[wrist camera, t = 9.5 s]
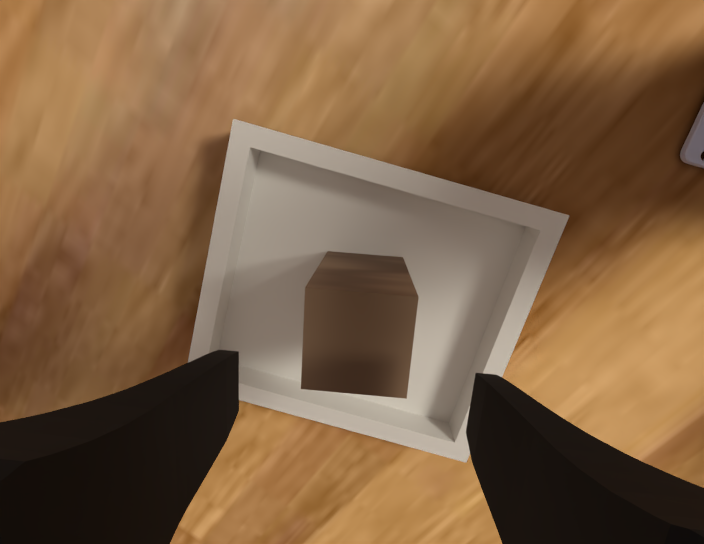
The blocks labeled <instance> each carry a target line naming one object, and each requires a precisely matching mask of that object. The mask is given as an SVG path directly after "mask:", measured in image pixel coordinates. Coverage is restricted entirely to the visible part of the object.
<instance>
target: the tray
mask: <svg viewBox="0 0 704 544" xmlns="http://www.w3.org/2000/svg"><path fill="white" fill-rule="evenodd" d="M569 216H570V215H566V214H563V213H559V212H556V211H553V210H549V209H546V208H542V207H539V206H535V205H532V204H528V203H525V202H521V201H518V200H514V199H511V198H507V197H504V196H500V195H497V194H493V193H490V192H486V191H483V190H479V189H476V188H473V187H469V186H466V185H462V184H459V183H455V182H452V181H448V180H445V179H441V178H438V177H434V176H431V175H427V174H424V173H420V172H417V171H413V170H410V169H406V168H403V167H399V166H396V165H392V164H389V163H386V162H382V161H379V160H375V159H372V158H368V157H365V156H361V155H358V154H354V153H351V152H347V151H344V150H340V149H337V148H333V147H330V146H326V145H323V144H319V143H316V142H312V141H309V140H306V139H302V138H299V137H295V136H292V135H288V134H285V133H281V132H278V131H274V130H271V129H267V128H264V127H260V126H257V125H253V124H250V123H246V122H243V121H239V120H236V119H233V122H232V128H231V133H230V138H229V144H228V149H227V154H226V160H225V165H224V170H223V176H222V181H221V187H220V192H219V197H218V203H217V208H216V213H215V219H214V224H213V230H212V235H211V240H210V246H209V251H208V256H207V262H206V267H205V272H204V278H203V283H202V289H201V294H200V299H199V305H198V310H197V315H196V321H195V326H194V332H193V337H192V342H191V348H190V353H189V358H188V363H189V362H191V361H193V360H195V359H197V358H199V357H202V356H204V355H206V354H208V353H211V352H214V351H217V350H228V351H239V400H241V401H245V402H248V403H252V404H256V405H259V406H263V407H266V408H270V409H274V410H277V411H281V412H285V413H288V414H292V415H295V416H299V417H303V418H306V419H310V420H314V421H317V422H321V423H324V424H328V425H332V426H335V427H339V428H343V429H346V430H350V431H353V432H357V433H361V434H364V435H368V436H372V437H375V438H379V439H383V440H386V441H390V442H393V443H397V444H401V445H404V446H408V447H412V448H415V449H419V450H422V451H426V452H430V453H433V454H437V455H441V456H444V457H448V458H451V459H455V460H459V461H462V462H467V459H468V457H469V455H470V450H469V445H468V440H467V436H466V428H467V422H468V416H469V409H470V403H471V397H472V391H473V385H474V379H475V373H484V374H495V375H498V376H500V377H502V376H503V373H504V371H505V369H506V366H507V364H508V362H509V359H510V357H511V354H512V352H513V350H514V347H515V345H516V342H517V340H518V338H519V335H520V333H521V330H522V328H523V326H524V323H525V321H526V319H527V316H528V314H529V311H530V309H531V307H532V304H533V302H534V299H535V297H536V295H537V292H538V290H539V288H540V285H541V283H542V280H543V278H544V276H545V273H546V271H547V268H548V266H549V264H550V261H551V259H552V256H553V254H554V252H555V249H556V247H557V245H558V242H559V240H560V237H561V235H562V233H563V230H564V228H565V225H566V223H567V221H568V218H569ZM327 251H332V252H345V253H357V254H370V255H383V256H396V257H403V259H404V261H405V264H406V266H407V269H408V271H409V274H410V276H411V279H412V282H413V284H414V287H415V289H416V292H417V294H418V297H419V298H418V306H417V315H416V323H415V332H414V340H413V349H412V357H411V366H410V374H409V383H408V391H407V399H405V398H394V397H383V396H372V395H361V394H350V393H339V392H328V391H317V390H306V389H301V371H302V348H303V324H304V300H305V287H306V285H307V284H308V282H309V280H310V279H311V277H312V276H313V274H314V272H315V271H316V269H317V267H318V266H319V264H320V263H321V261H322V259H323V258H324V256H325V254H326V253H327Z"/></svg>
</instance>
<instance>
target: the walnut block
mask: <svg viewBox="0 0 704 544" xmlns="http://www.w3.org/2000/svg"><path fill="white" fill-rule="evenodd" d="M418 298H419V297H418V294H417V292H416V289H415V287H414V284H413V282H412V279H411V276H410V274H409V271H408V269H407V266H406V264H405V261H404V259H403V257H396V256H383V255H370V254H357V253H345V252H332V251H327V253H326V254H325V256H324V258H323V259H322V261H321V263H320V264H319V266H318V267H317V269H316V271H315V272H314V274H313V276H312V277H311V279H310V280H309V282H308V284H307V285H306V287H305V300H304V324H303V348H302V371H301V389H306V390H317V391H328V392H339V393H350V394H361V395H372V396H383V397H394V398H405V399H407V391H408V383H409V374H410V366H411V357H412V349H413V340H414V332H415V323H416V315H417V306H418Z"/></svg>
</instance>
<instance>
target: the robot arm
mask: <svg viewBox="0 0 704 544" xmlns="http://www.w3.org/2000/svg"><path fill="white" fill-rule="evenodd" d="M703 151H704V103H703V105H702V107H701V109H700V111H699V113H698V115H697V117H696V119H695V122H694V124H693V126H692V128H691V130H690V132H689V134H688V136H687V139H686V141H685V143H684V145H683V147H682V149H681V152H680V158H681V160H682V161H683V162H684V163H687V164H690V165H694V166H697V167H700V168H704V159H703V160H701V153H702V152H703ZM238 411H239V351H228V350H217V351H214V352H211V353H208V354H206V355H204V356H202V357H199V358H197V359H195V360H193V361H191V362H189V363H186V364H184V365H182V366H180V367H178V368H176V369H173V370H171V371H169V372H167V373H165V374H162V375H160V376H157V377H155V378H153V379H150V380H148V381H145V382H143V383H141V384H138V385H136V386H133V387H131V388H128V389H126V390H123V391H120V392H117V393H114V394H111V395H108V396H105V397H102V398H99V399H96V400H93V401H90V402H86V403H83V404H79V405H75V406H71V407H67V408H63V409H60V410H56V411H52V412H48V413H44V414H40V415H35V416H31V417H26V418H21V419H16V420H11V421H6V422H0V544H170V542H171V540H172V537H173V535H174V533H175V531H176V529H177V527H178V524H179V522H180V521H181V519H182V517H183V515H184V513H185V511H186V509H187V507H188V506H189V504H190V502H191V501H192V499H193V497H194V495H195V494H196V492H197V490H198V489H199V487H200V485H201V483H202V482H203V480H204V478H205V477H206V475H207V473H208V472H209V470H210V468H211V466H212V465H213V463H214V461H215V460H216V458H217V456H218V454H219V453H220V451H221V449H222V447H223V446H224V444H225V442H226V440H227V438H228V436H229V433H230V431H231V429H232V426H233V424H234V421H235V419H236V416H237V414H238ZM466 436H467V440H468V445H469V450H470V454H471V458H472V462H473V465H474V468H475V471H476V474H477V477H478V479H479V482H480V485H481V487H482V490H483V493H484V495H485V498H486V501H487V503H488V506H489V509H490V511H491V514H492V517H493V519H494V522H495V524H496V527H497V530H498V532H499V535H500V538H501V540H502V543H503V544H704V488H702V487H700V486H697V485H695V484H692V483H690V482H687V481H685V480H682V479H680V478H678V477H675V476H673V475H671V474H668V473H666V472H664V471H662V470H659V469H657V468H655V467H653V466H650V465H648V464H646V463H644V462H641V461H639V460H637V459H635V458H633V457H631V456H629V455H627V454H625V453H623V452H621V451H619V450H617V449H615V448H613V447H612V446H610V445H608V444H606V443H604V442H602V441H600V440H598V439H596V438H595V437H593V436H591V435H589V434H588V433H586V432H584V431H583V430H581V429H579V428H578V427H576V426H574V425H573V424H571V423H570V422H568V421H566V420H565V419H563V418H561V417H560V416H558V415H557V414H555V413H554V412H552V411H551V410H549V409H548V408H546V407H545V406H543V405H542V404H540V403H539V402H537V401H536V400H534V399H533V398H532V397H530V396H529V395H527V394H526V393H524V392H523V391H521V390H520V389H519V388H517V387H516V386H514V385H513V384H511V383H510V382H508V381H507V380H505V379H503V378H502V377H500V376H498V375H495V374H484V373H475V379H474V385H473V391H472V397H471V403H470V409H469V416H468V422H467V428H466Z"/></svg>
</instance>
